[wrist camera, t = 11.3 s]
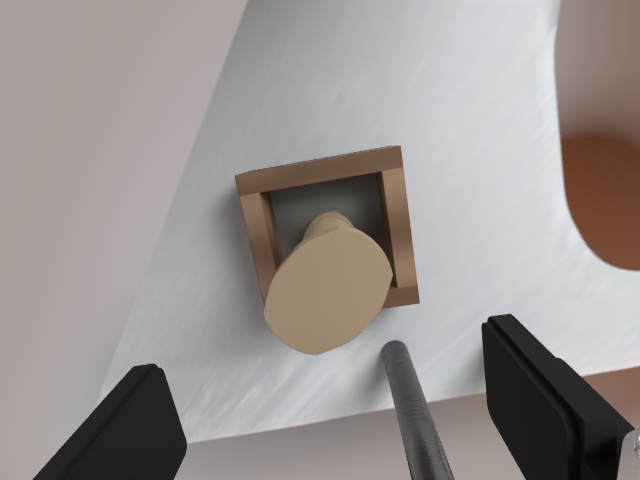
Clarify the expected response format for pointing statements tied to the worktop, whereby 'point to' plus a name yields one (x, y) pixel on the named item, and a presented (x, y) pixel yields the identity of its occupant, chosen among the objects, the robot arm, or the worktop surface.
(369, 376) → the worktop surface
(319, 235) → the handle
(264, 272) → the socket
